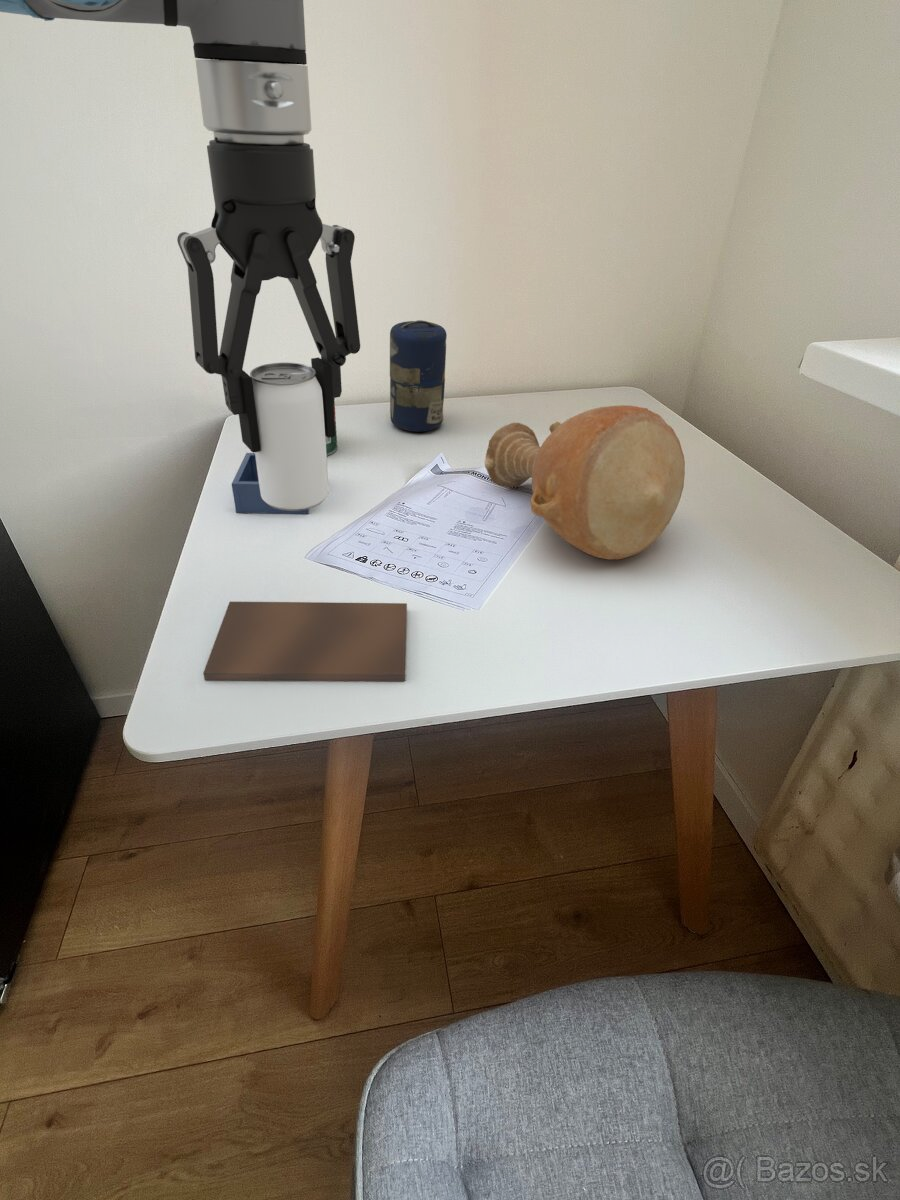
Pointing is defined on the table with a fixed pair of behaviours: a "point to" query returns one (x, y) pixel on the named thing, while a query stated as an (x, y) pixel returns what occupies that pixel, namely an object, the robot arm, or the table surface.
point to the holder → (252, 490)
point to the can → (290, 436)
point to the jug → (597, 476)
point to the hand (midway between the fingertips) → (289, 438)
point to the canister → (417, 375)
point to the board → (310, 642)
